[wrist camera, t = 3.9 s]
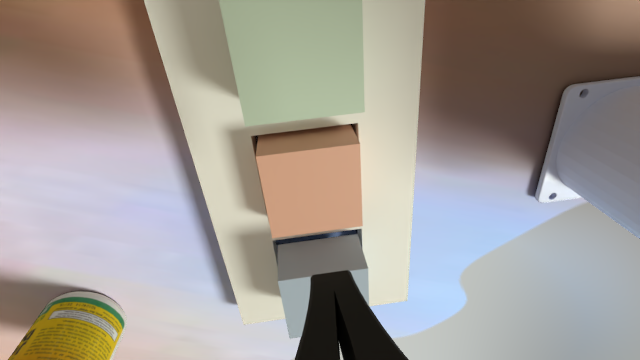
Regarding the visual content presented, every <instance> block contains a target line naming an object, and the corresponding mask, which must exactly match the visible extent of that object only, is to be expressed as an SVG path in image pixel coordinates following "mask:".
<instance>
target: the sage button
mask: <svg viewBox="0 0 640 360" xmlns="http://www.w3.org/2000/svg"><path fill="white" fill-rule="evenodd" d="M219 4H220V8H221V13H222V18H223V23H224V28H225V32H226V37H227V42H228V47H229V51H230V56H231V61H232V66H233V70H234V75H235V80H236V85H237V89H238V94H239V99H240V104H241V108H242V113H243V118H244V123H245V127H246V126H255V125H263V124H271V123H280V122H288V121H296V120H304V119H313V118H321V117H329V116H337V115H346V114H354V113H362V112H365V104H364V59H363V15H362V0H219Z"/></svg>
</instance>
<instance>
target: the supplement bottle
mask: <svg viewBox="0 0 640 360" xmlns="http://www.w3.org/2000/svg"><path fill="white" fill-rule="evenodd" d="M126 325H127V319H126V315H125V313H124V311H123V310H122V308H121V307H120V306H119V305H118V304H117V303H116V302H115V301H113V300H112V299H110V298H108V297H106V296H104V295H101V294H98V293H93V292H84V291H77V292H70V293H66V294H63V295H60V296H58V297H56V298H55V299H53V300H52V301H50V302H49V303H48V304H47V306H46V307H45V308H44V310H43V311H42V312H41V314H40V315H39V317H38V318H37V320H36V321H35V322H34V324H33V325H32V327H31V328H30V329H29V331H28V332H27V334H26V335H25V337H24V338H23V339H22V341H21V342H20V344H19V345H18V346H17V348H16V349H15V351H14V352H13V354H12V355H11V356H10V357H9V359H8V360H112V359H113V357H114V354H115V352H116V350H117V348H118V345H119V343H120V341H121V339H122V336H123V334H124V331H125V329H126Z"/></svg>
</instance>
